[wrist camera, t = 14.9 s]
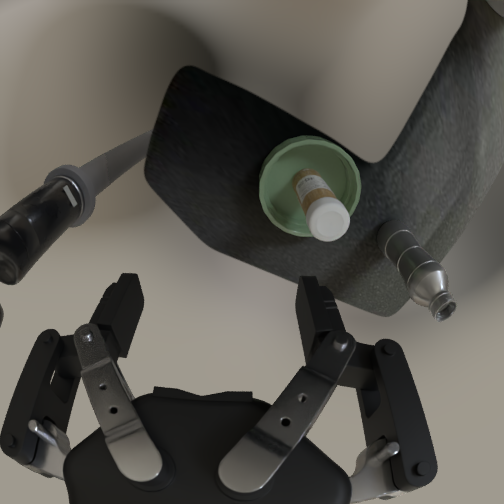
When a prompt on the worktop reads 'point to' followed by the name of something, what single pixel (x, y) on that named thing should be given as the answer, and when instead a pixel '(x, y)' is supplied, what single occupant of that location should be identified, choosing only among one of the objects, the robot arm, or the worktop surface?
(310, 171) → the sprinkles bottle
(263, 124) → the worktop surface
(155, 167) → the worktop surface
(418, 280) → the plastic bottle
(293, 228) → the bowl
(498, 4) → the cylinder vase
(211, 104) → the worktop surface
